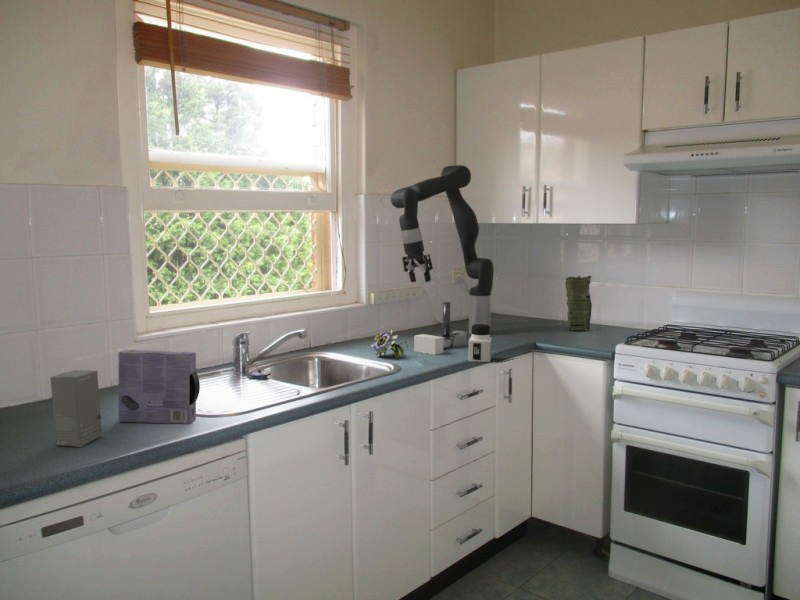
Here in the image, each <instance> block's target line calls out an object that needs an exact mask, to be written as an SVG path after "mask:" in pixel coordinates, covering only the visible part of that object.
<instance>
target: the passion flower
mask: <svg viewBox="0 0 800 600" xmlns="http://www.w3.org/2000/svg"><path fill="white" fill-rule="evenodd" d="M393 333H394V330H393V329H390V330H389V331H385V332H383V333H381V332H380V333H377V335H376V336H375V338H374V341H373V343H372V344H371V345H370V347H371V348H374V350H375V353H374V354H375V355H377V356H376V358H377V357H379V358H381V356H383V357H384V356H385V355H386V353H387V349H388V350H391V351H393V354H394V358H395V359H397V360H399V358H400V354H401V356H402V357H403V356H404V354H405V350H404V348H403V347H402V346H401V345H402V344H405V345H406V348H408V347H409V345H408V341H403V342H401V343H396V341H395V340H396V339H398V337H399V335H398V334H396V335H395V334H394V335H393Z"/></svg>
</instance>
